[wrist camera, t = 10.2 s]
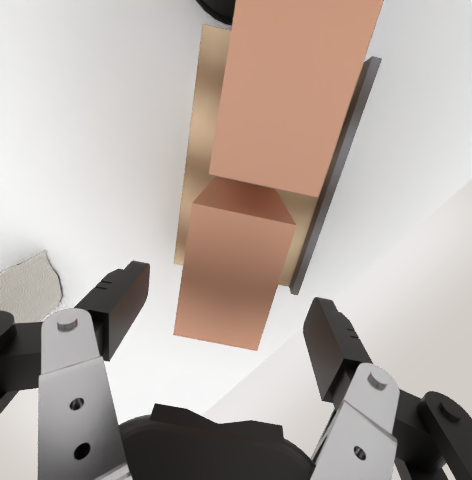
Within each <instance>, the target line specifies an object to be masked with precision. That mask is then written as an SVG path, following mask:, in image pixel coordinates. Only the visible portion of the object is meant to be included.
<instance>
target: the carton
mask: <svg viewBox="0 0 472 480" xmlns="http://www.w3.org/2000/svg"><path fill="white" fill-rule="evenodd" d="M296 226H297V225H296V223H295V222H294V220H293V218H292V216H291V215H290V213H289V211H288V210H287V208H286V206H285V204H284V203H283V201H282V199H281V198H280V196H279V194H278V192H277V191H276V190H274V189H269V188H265V187H260V186H256V185H251V184H246V183H242V182H237V181H233V180H228V179H223V178H219V177H215V178H214V179H213V180H212V181H211V182H210V183H209V184H208V186H207V187H206V188H205V189H204V190H203V191H202V192H201V194H200V195H199V196H198V197H197V198H196V199H195V200H194V202H193V203H192V207H191V214H190V221H189V229H188V236H187V243H186V250H185V257H184V264H183V271H182V278H181V285H180V292H179V299H178V306H177V313H176V320H175V328H174V335H177V336H182V337H187V338H192V339H198V340H203V341H208V342H213V343H219V344H224V345H229V346H234V347H240V348H245V349H250V350H255V351H257V349H258V346H259V343H260V340H261V337H262V333H263V330H264V327H265V324H266V321H267V318H268V314H269V311H270V308H271V305H272V302H273V299H274V296H275V292H276V289H277V286H278V283H279V280H280V277H281V273H282V270H283V267H284V264H285V261H286V258H287V255H288V251H289V248H290V245H291V242H292V239H293V236H294V232H295V229H296Z"/></svg>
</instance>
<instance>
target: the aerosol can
mask: <svg viewBox="0 0 472 480" xmlns="http://www.w3.org/2000/svg"><path fill="white" fill-rule="evenodd" d="M196 1H197V2H198V3H199V4H200V5H201V7H202V8H203V9H204V10H205V11H206V12H208V13H209V14H210V15H211V16H213V17H214V18H216V19H218V20H220V21H222V22H224V23H227V24H231V25H232V23H233V16H234V10H235V3H236V0H196Z"/></svg>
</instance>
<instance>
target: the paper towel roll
mask: <svg viewBox="0 0 472 480" xmlns="http://www.w3.org/2000/svg"><path fill="white" fill-rule="evenodd" d="M61 297H62V294H61V288H60V283H59V279H58V276H57V275H56V273H55V272H54V270H53V269H52V267H51V266H50V264H49V261H48V259H47V257H46V251H43V252H41V253H39V254H38V255H36V256H34V257H32V258H30V259H28V260H27V261H25V262H23V263H21V264H19V265H15V266H12V267H10V268H8V269H6V270H4V271H2V272H0V310H1V311H7V312H10V313H11V314H12V315H13V316H14V319H15V323H30V322H39V321H41V320H42V319H43V318H44V317H45V316H46V315H47V314H49V313H50V312H51V311H52V310H53V309H54V308H56V307H57V306H58V304H59V302H60V300H61Z"/></svg>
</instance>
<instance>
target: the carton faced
mask: <svg viewBox="0 0 472 480" xmlns="http://www.w3.org/2000/svg"><path fill="white" fill-rule="evenodd" d="M383 1H384V0H236V3H235V10H234V16H233V23H232V29H231V35H230V42H229V48H228V54H227V61H226V67H225V73H224V80H223V86H222V93H221V99H220V105H219V112H218V118H217V124H216V131H215V137H214V143H213V150H212V156H211V162H210V169H209V174H211V175H216V176H220V177H225V178H230V179H234V180H239V181H244V182H248V183H253V184H258V185H262V186H267V187H272V188H277V189H281V190H286V191H291V192H295V193H300V194H305V195H309V196H314V197H318V196H319V193H320V190H321V187H322V184H323V181H324V178H325V175H326V172H327V169H328V166H329V163H330V160H331V157H332V154H333V151H334V148H335V145H336V142H337V139H338V136H339V133H340V130H341V127H342V124H343V121H344V118H345V115H346V112H347V109H348V106H349V103H350V100H351V97H352V94H353V91H354V88H355V85H356V82H357V79H358V76H359V73H360V70H361V67H362V64H363V61H364V58H365V55H366V52H367V49H368V46H369V43H370V40H371V37H372V34H373V31H374V28H375V25H376V22H377V19H378V16H379V13H380V10H381V7H382V4H383Z"/></svg>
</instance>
